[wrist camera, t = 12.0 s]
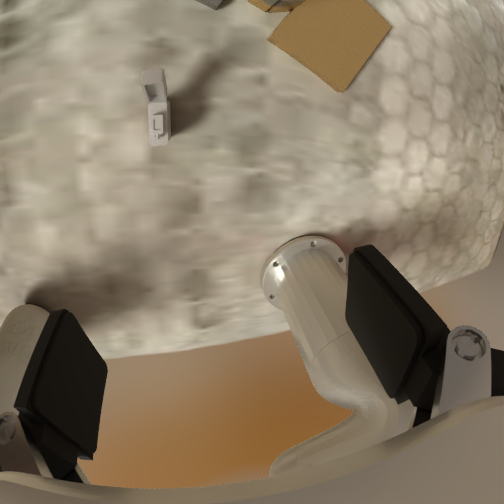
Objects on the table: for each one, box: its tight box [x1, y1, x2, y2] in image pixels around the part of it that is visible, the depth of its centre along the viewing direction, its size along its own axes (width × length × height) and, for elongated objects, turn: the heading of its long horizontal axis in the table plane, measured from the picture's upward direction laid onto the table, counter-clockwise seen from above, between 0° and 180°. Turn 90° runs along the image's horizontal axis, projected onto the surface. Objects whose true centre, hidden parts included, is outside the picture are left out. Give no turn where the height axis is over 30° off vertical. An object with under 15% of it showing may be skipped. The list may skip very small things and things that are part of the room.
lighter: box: [141, 68, 171, 146], centre depth 23 cm, size 7×2×8 cm, turn 178°
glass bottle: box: [0, 304, 50, 416], centre depth 25 cm, size 10×10×28 cm
